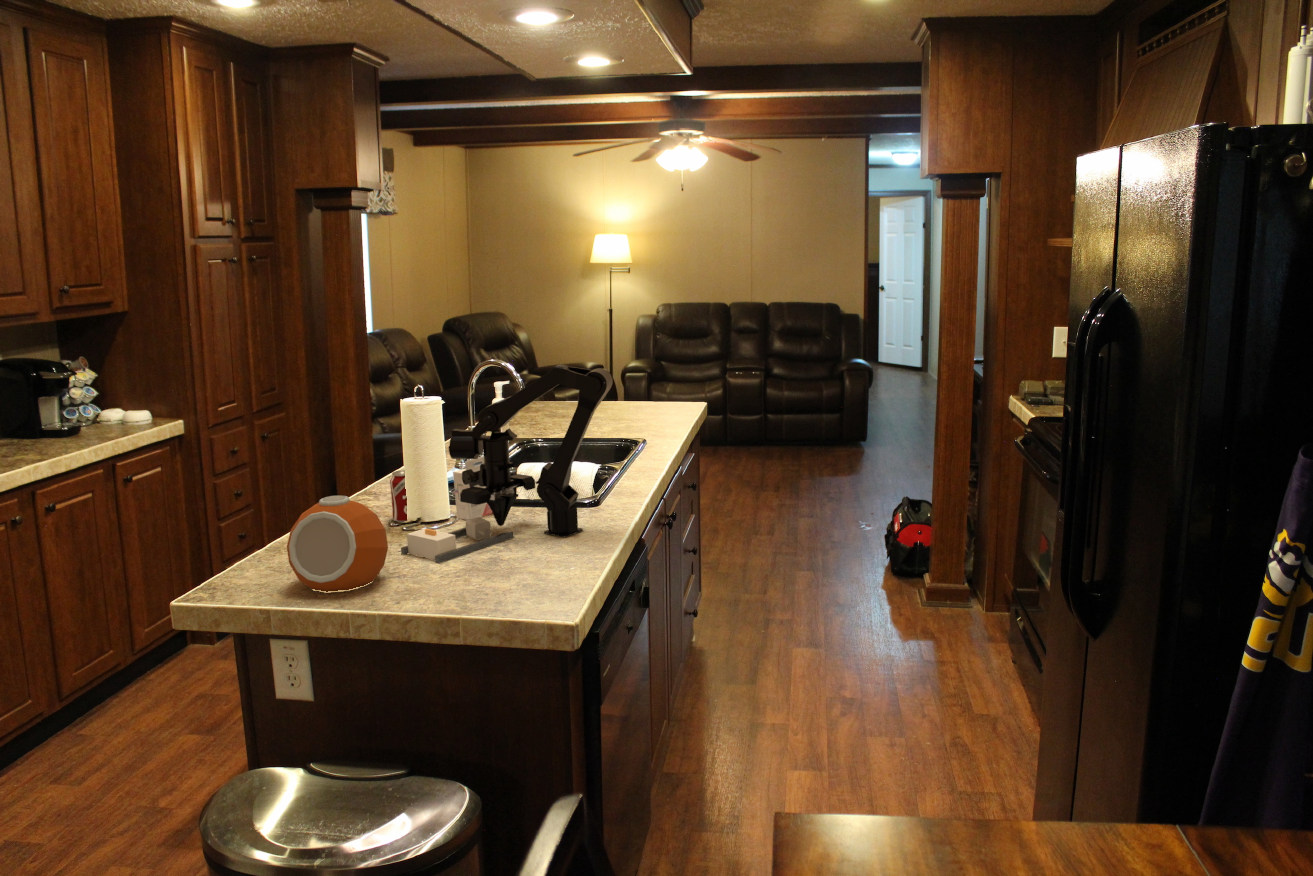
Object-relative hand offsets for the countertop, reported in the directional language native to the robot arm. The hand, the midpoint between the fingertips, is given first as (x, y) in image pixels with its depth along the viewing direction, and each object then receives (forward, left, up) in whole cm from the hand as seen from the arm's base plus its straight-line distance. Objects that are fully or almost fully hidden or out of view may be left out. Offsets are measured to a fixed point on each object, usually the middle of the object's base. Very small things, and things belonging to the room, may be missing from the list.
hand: (500, 525), depth 237 cm
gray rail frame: (0, +13, -2) cm, 13 cm away
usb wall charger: (0, +6, -2) cm, 6 cm away
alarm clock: (+1, +43, -2) cm, 43 cm away
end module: (0, +21, -1) cm, 21 cm away
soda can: (+27, +5, -2) cm, 27 cm away
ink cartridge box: (+16, -7, -2) cm, 18 cm away
